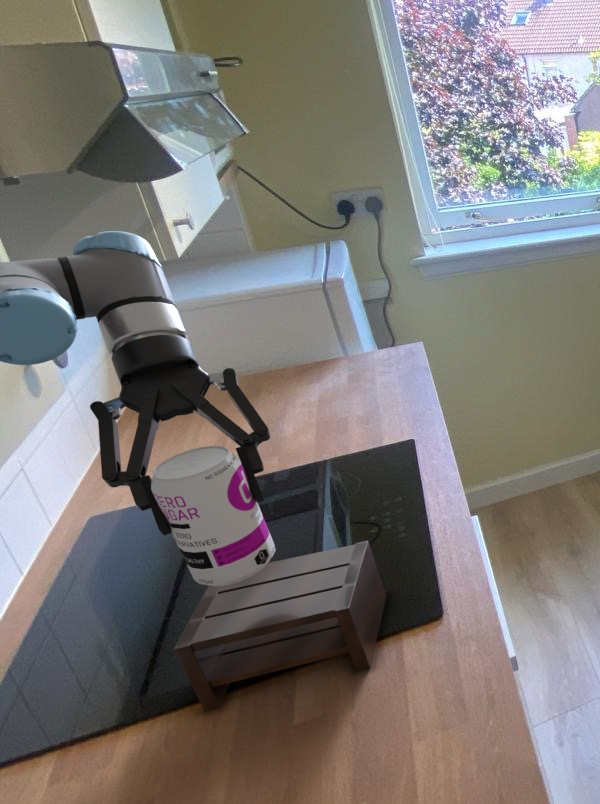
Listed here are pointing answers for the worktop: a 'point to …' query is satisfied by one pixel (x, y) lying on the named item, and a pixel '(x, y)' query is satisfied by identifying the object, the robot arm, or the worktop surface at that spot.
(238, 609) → the rack
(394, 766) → the worktop surface
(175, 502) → the white drink can
